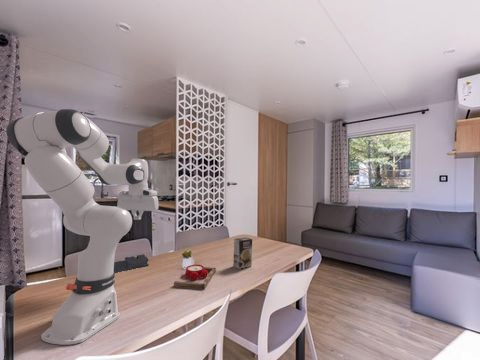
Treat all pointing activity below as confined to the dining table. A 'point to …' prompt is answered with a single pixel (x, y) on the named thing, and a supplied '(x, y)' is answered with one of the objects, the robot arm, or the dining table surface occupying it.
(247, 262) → the coffee box
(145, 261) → the dark slate chunk
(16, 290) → the dining table surface
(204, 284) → the brown frame
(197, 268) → the alarm clock
